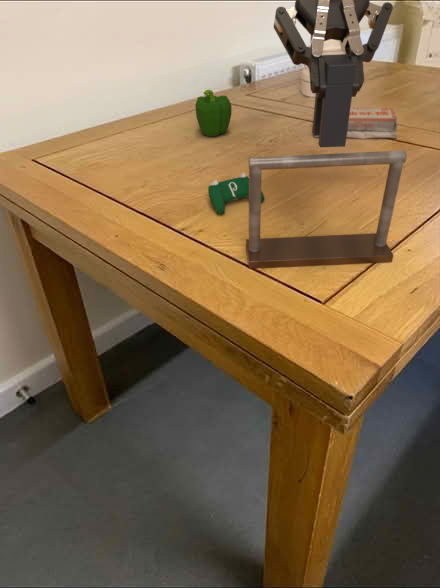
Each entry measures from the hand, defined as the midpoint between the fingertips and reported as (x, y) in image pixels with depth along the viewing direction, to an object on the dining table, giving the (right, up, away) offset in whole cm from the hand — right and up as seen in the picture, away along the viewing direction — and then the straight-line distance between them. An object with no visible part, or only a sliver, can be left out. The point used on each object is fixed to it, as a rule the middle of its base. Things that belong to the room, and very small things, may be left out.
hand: (338, 93), depth 52 cm
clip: (0, -3, +5) cm, 6 cm away
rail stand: (+1, -17, +15) cm, 23 cm away
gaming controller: (-11, -7, +29) cm, 31 cm away
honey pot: (+16, +35, +82) cm, 90 cm away
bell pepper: (-15, +15, +57) cm, 61 cm away
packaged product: (+17, +15, +55) cm, 59 cm away
